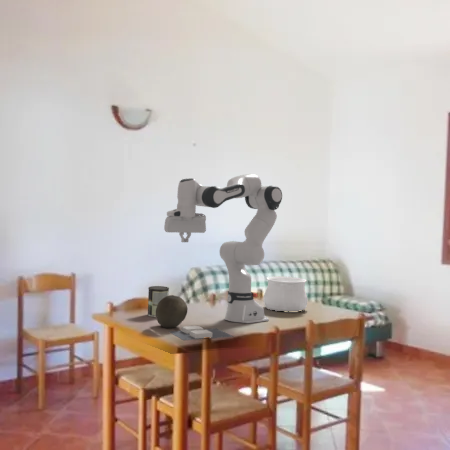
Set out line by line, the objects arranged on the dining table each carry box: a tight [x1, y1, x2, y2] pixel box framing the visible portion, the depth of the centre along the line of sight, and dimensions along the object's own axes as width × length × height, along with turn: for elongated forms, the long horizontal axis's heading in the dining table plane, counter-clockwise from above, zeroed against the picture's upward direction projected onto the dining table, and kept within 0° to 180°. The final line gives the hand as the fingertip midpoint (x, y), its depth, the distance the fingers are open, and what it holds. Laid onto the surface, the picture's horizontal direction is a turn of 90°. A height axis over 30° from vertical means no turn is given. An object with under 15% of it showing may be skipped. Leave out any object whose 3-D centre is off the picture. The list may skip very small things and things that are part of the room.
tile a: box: [180, 325, 204, 334], centre depth 283 cm, size 2×6×8 cm
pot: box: [263, 276, 308, 312], centre depth 353 cm, size 26×24×17 cm
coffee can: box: [147, 285, 170, 318], centre depth 320 cm, size 10×10×14 cm
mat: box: [168, 328, 234, 341], centre depth 280 cm, size 24×17×1 cm
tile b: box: [190, 330, 212, 340], centre depth 275 cm, size 2×6×8 cm
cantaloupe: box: [155, 294, 189, 329], centre depth 292 cm, size 14×14×15 cm
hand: (184, 242), depth 299 cm, fingers closed
